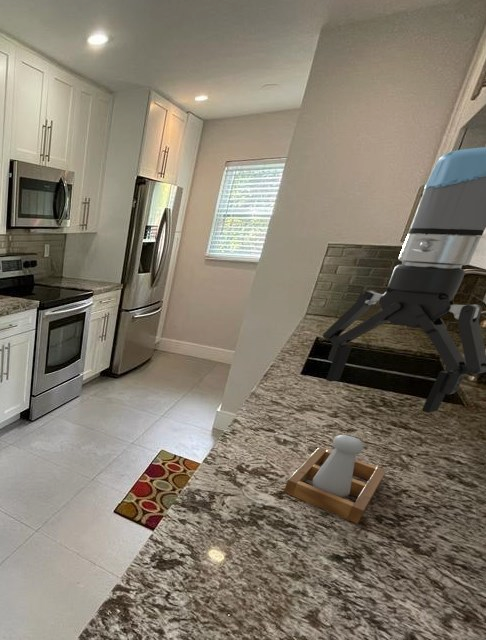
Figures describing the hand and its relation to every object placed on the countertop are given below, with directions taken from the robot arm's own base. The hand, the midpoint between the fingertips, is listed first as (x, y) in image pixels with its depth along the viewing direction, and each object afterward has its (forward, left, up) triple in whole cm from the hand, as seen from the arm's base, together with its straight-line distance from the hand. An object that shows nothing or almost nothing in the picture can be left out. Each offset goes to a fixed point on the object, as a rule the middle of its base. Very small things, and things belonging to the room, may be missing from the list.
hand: (376, 394), depth 70 cm
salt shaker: (+1, -4, -24) cm, 24 cm away
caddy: (+1, -9, -24) cm, 25 cm away
